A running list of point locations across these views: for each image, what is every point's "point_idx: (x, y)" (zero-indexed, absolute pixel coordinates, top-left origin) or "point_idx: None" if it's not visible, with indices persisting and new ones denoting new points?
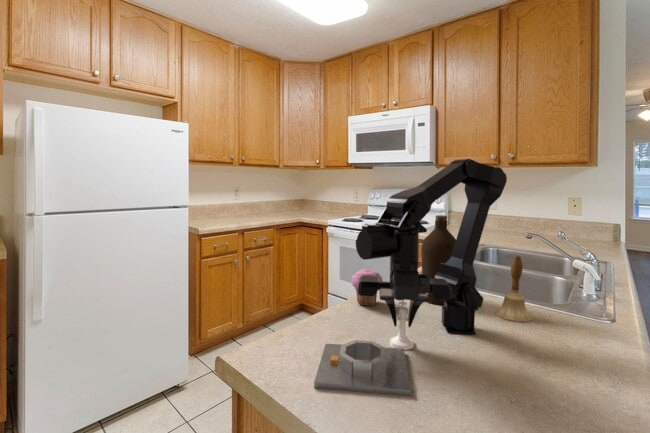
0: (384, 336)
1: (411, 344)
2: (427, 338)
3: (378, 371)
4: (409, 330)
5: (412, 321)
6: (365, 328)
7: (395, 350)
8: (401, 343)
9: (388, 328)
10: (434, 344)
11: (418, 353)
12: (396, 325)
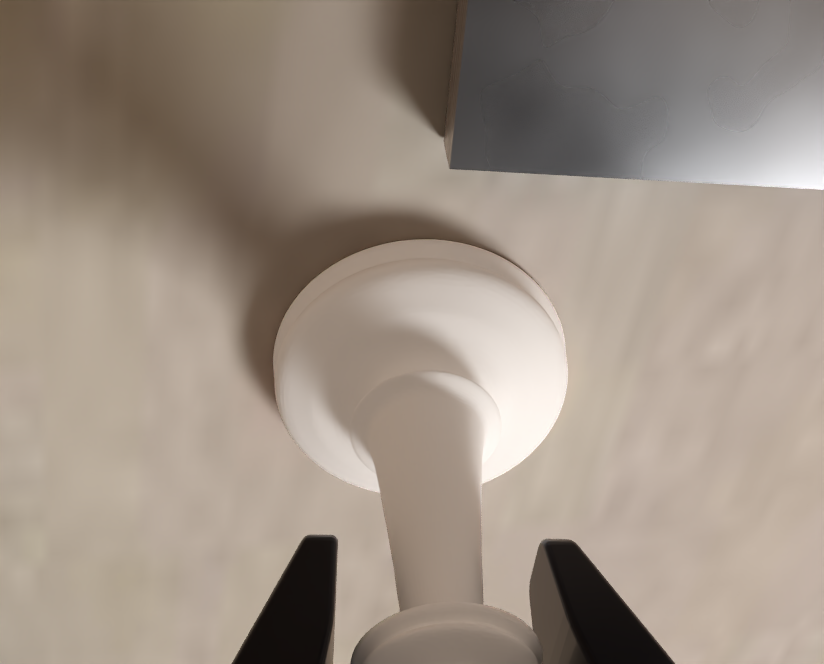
0: (587, 507)
1: (308, 319)
2: (95, 509)
3: None
4: None
5: (262, 620)
6: (742, 624)
7: (591, 100)
8: (450, 313)
9: None
10: (8, 396)
11: (228, 160)
12: (546, 550)
